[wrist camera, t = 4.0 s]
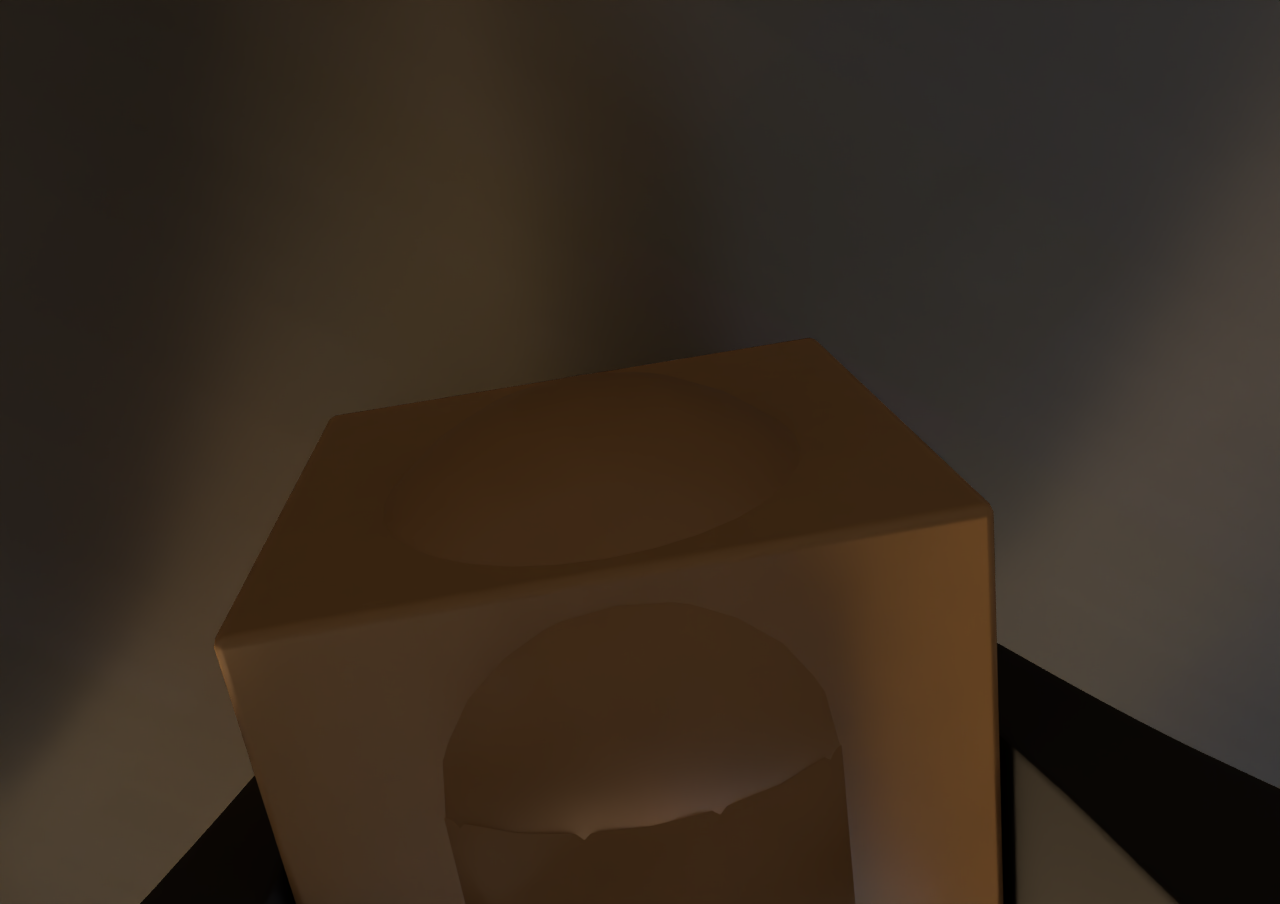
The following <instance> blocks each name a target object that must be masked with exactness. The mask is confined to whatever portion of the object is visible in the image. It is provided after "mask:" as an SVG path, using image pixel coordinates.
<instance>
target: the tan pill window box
mask: <svg viewBox="0 0 1280 904" xmlns="http://www.w3.org/2000/svg"><path fill="white" fill-rule="evenodd" d="M214 649H215V652H216V655H217V658H218V661H219V665H220V668H221V671H222V674H223V677H224V680H225V683H226V687H227V690H228V693H229V696H230V699H231V702H232V705H233V708H234V712H235V715H236V718H237V721H238V724H239V727H240V730H241V733H242V737H243V740H244V743H245V746H246V749H247V752H248V755H249V759H250V762H251V765H252V768H253V771H254V774H255V777H256V780H257V784H258V787H259V790H260V793H261V796H262V799H263V802H264V806H265V809H266V812H267V815H268V818H269V821H270V824H271V827H272V831H273V834H274V837H275V840H276V843H277V846H278V849H279V852H280V856H281V859H282V862H283V865H284V868H285V871H286V874H287V878H288V881H289V884H290V887H291V890H292V893H293V896H294V899H295V903H296V904H1003V867H1002V827H1001V788H1000V749H999V710H998V671H997V632H996V592H995V553H994V514H993V510H992V508H991V506H990V504H989V503H988V502H987V501H986V500H985V499H984V498H983V497H982V496H981V495H980V494H979V493H978V492H977V491H975V490H974V489H973V488H972V487H971V486H970V485H969V484H968V483H967V482H966V481H965V480H964V479H963V478H962V477H961V476H960V475H958V474H957V473H956V472H955V471H954V470H953V469H952V468H951V467H950V466H949V465H948V464H947V463H946V462H945V461H944V460H943V459H941V458H940V457H939V456H938V455H937V454H936V453H935V452H934V451H933V450H932V449H931V448H930V447H929V446H928V445H927V444H926V443H924V442H923V441H922V440H921V439H920V438H919V437H918V436H917V435H916V434H915V433H914V432H913V431H912V430H911V429H910V428H909V427H907V426H906V425H905V424H904V423H903V422H902V421H901V420H900V419H899V418H898V417H897V416H896V415H895V414H894V413H893V412H892V411H890V410H889V409H888V408H887V407H886V406H885V405H884V404H883V403H882V402H881V401H880V400H879V399H878V398H877V397H876V396H875V395H874V394H872V393H871V392H870V391H869V390H868V389H867V388H866V387H865V386H864V385H863V384H862V383H861V382H860V381H859V380H858V379H857V378H855V377H854V376H853V375H852V374H851V373H850V372H849V371H848V370H847V369H846V368H845V367H844V366H843V365H842V364H841V363H840V362H838V361H837V360H836V359H835V358H834V357H833V356H832V355H831V354H830V353H829V352H828V351H827V350H826V349H825V348H824V347H823V346H821V345H820V344H819V343H818V342H817V341H816V340H815V339H811V338H806V339H800V340H793V341H787V342H781V343H775V344H769V345H763V346H757V347H751V348H745V349H739V350H732V351H726V352H720V353H714V354H708V355H702V356H696V357H690V358H684V359H678V360H672V361H665V362H659V363H653V364H647V365H641V366H635V367H629V368H623V369H617V370H611V371H604V372H598V373H592V374H584V375H576V376H571V377H566V378H562V379H556V380H550V381H543V382H537V383H531V384H525V385H519V386H513V387H507V388H501V389H495V390H489V391H483V392H476V393H470V394H464V395H458V396H452V397H446V398H440V399H434V400H428V401H422V402H415V403H409V404H403V405H397V406H391V407H385V408H379V409H373V410H367V411H361V412H355V413H348V414H342V415H336V416H334V417H332V418H331V419H330V420H329V422H328V424H327V426H326V428H325V429H324V431H323V433H322V435H321V437H320V439H319V441H318V443H317V445H316V447H315V449H314V450H313V452H312V454H311V456H310V458H309V460H308V462H307V464H306V466H305V468H304V470H303V471H302V473H301V475H300V477H299V479H298V481H297V483H296V485H295V487H294V489H293V491H292V492H291V494H290V496H289V498H288V500H287V502H286V504H285V506H284V508H283V510H282V512H281V513H280V515H279V517H278V519H277V521H276V523H275V525H274V527H273V529H272V531H271V533H270V534H269V536H268V538H267V540H266V542H265V544H264V546H263V548H262V550H261V552H260V554H259V555H258V557H257V559H256V561H255V563H254V565H253V567H252V569H251V571H250V573H249V575H248V576H247V578H246V580H245V582H244V584H243V586H242V588H241V590H240V592H239V594H238V596H237V598H236V599H235V601H234V603H233V605H232V607H231V609H230V611H229V613H228V615H227V617H226V619H225V620H224V622H223V624H222V626H221V628H220V630H219V632H218V634H217V636H216V638H215V643H214Z"/></svg>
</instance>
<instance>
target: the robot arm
mask: <svg viewBox="0 0 1280 904" xmlns="http://www.w3.org/2000/svg"><path fill="white" fill-rule="evenodd" d="M997 671H998V710H999V749H1000V788H1001V827H1002V867H1003V904H1280V789H1279V788H1277V787H1275V786H1272V785H1270V784H1268V783H1266V782H1264V781H1261V780H1259V779H1257V778H1255V777H1253V776H1251V775H1249V774H1247V773H1244V772H1242V771H1240V770H1238V769H1236V768H1234V767H1232V766H1230V765H1228V764H1225V763H1223V762H1221V761H1219V760H1217V759H1215V758H1213V757H1211V756H1208V755H1206V754H1204V753H1202V752H1200V751H1198V750H1196V749H1194V748H1191V747H1189V746H1187V745H1185V744H1183V743H1181V742H1179V741H1177V740H1175V739H1173V738H1171V737H1169V736H1167V735H1165V734H1163V733H1161V732H1160V731H1158V730H1156V729H1154V728H1152V727H1150V726H1148V725H1146V724H1144V723H1142V722H1140V721H1138V720H1136V719H1134V718H1132V717H1130V716H1128V715H1127V714H1125V713H1123V712H1121V711H1119V710H1117V709H1115V708H1113V707H1111V706H1110V705H1108V704H1106V703H1104V702H1102V701H1100V700H1099V699H1097V698H1095V697H1093V696H1091V695H1089V694H1087V693H1086V692H1084V691H1082V690H1080V689H1078V688H1077V687H1075V686H1073V685H1071V684H1069V683H1067V682H1066V681H1064V680H1062V679H1060V678H1058V677H1057V676H1055V675H1053V674H1051V673H1050V672H1048V671H1046V670H1044V669H1042V668H1041V667H1039V666H1037V665H1035V664H1034V663H1032V662H1030V661H1028V660H1027V659H1025V658H1023V657H1021V656H1019V655H1018V654H1016V653H1014V652H1012V651H1011V650H1009V649H1007V648H1005V647H1004V646H1002V645H1000V644H998V643H997ZM140 904H296V903H295V899H294V896H293V893H292V890H291V887H290V884H289V881H288V878H287V874H286V871H285V868H284V865H283V862H282V859H281V856H280V852H279V849H278V846H277V843H276V840H275V837H274V834H273V831H272V827H271V824H270V821H269V818H268V815H267V812H266V809H265V806H264V802H263V799H262V796H261V793H260V790H259V787H258V784H257V780H256V777H255V776H254V777H253V778H252V779H251V780H250V781H249V782H248V784H247V785H246V786H245V787H244V788H243V789H242V790H241V792H240V793H239V794H238V795H237V796H236V797H235V799H234V800H233V801H232V802H231V803H230V804H229V805H228V807H227V808H226V809H225V810H224V811H223V812H222V813H221V815H220V816H219V817H218V818H217V819H216V820H215V821H214V822H213V824H212V825H211V826H210V827H209V828H208V829H207V830H206V831H205V833H204V834H203V835H202V836H201V837H200V838H199V839H198V840H197V841H196V843H195V844H194V845H193V846H192V847H191V848H190V849H189V850H188V851H187V853H186V854H185V855H184V856H183V857H182V858H181V859H180V860H179V862H178V863H177V864H176V865H175V866H174V867H173V868H172V869H171V870H170V872H169V873H168V874H167V875H166V876H165V877H164V878H163V879H162V880H161V882H160V883H159V884H158V885H157V886H156V887H155V888H154V889H153V890H152V891H151V893H150V894H149V895H148V896H147V897H146V898H145V899H144V900H143V901H142V902H141V903H140Z"/></svg>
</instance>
